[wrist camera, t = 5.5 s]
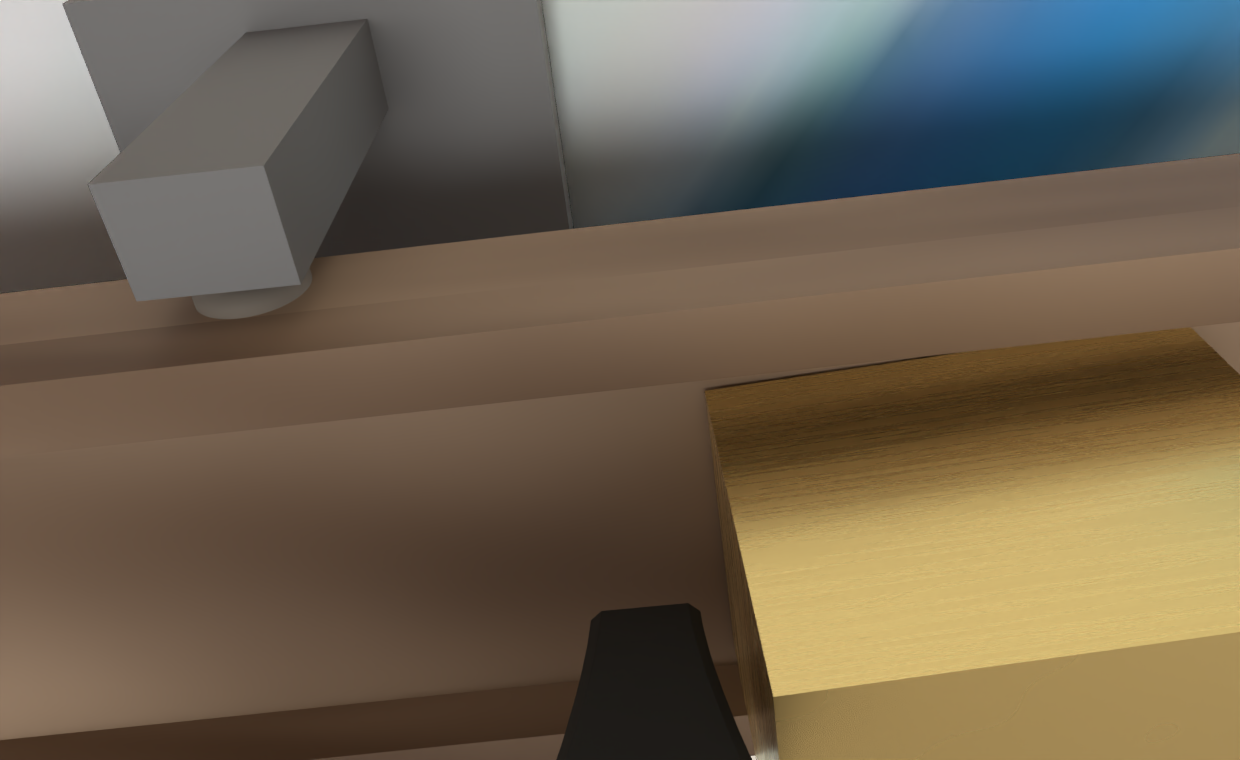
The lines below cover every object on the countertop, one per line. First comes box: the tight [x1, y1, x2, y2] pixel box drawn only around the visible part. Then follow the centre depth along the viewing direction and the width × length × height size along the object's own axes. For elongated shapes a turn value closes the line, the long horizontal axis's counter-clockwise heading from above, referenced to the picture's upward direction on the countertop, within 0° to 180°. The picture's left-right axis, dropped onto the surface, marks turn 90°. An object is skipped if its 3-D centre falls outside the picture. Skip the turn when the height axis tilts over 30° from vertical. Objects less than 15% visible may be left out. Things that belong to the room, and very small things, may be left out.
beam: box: [0, 153, 1240, 760], centre depth 12 cm, size 7×32×3 cm, turn 96°
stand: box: [63, 0, 574, 302], centre depth 14 cm, size 11×6×6 cm, turn 6°
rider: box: [705, 327, 1240, 760], centre depth 10 cm, size 4×5×4 cm
